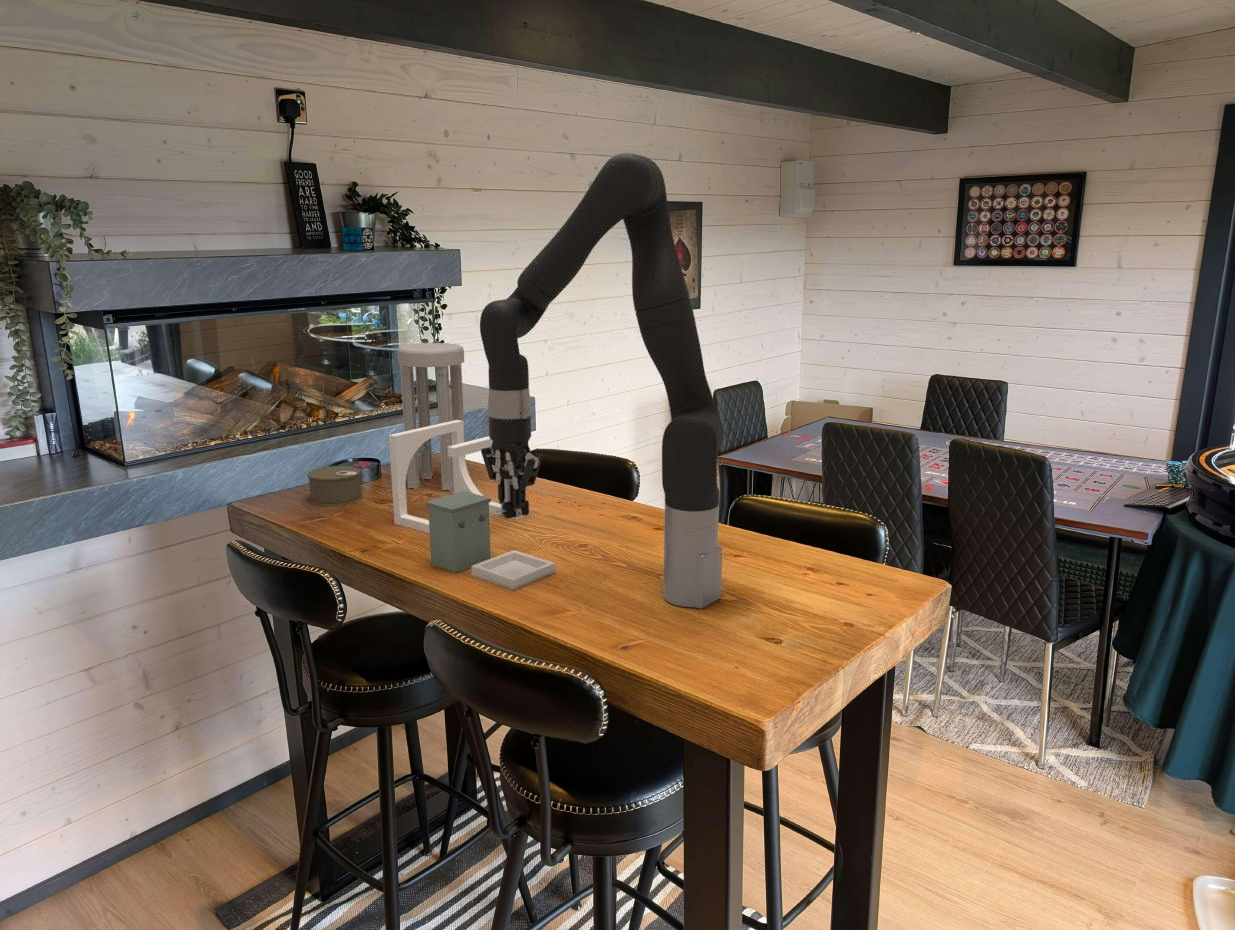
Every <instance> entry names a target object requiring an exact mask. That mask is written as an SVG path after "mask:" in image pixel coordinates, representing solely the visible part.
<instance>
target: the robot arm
mask: <svg viewBox="0 0 1235 930" xmlns="http://www.w3.org/2000/svg"><path fill="white" fill-rule="evenodd" d="M670 218H671V217H670V212H669V205H668V199H667V190H666V183H665V178H664V175H663V173H662V170H661V169H660V166H658V165H657V163H656V162H655V161H653V160H652V159H651V158H649V157H647V156H645V155H640V154H635V153H632V152H631V153H630V152H623V153H618V154H616V155H613V156H612V157H611V158H609V159H608V160H607V161H606V162H605V163H604V165H603V166H602V167H601V168H600V170H599V172H598V173H597V175H596V177H595V178H594V180H593V181H592V183H591V184H590V186H589V188H588V189H587V191H586V192H585V194H584V196H583V197H582V199H581V200H580V202H579V203H578V204H577V206H576V207H575V209H574V210H573V212H572V213H571V215H569V217H568V218H567V220H566V221H565V223H564V224H563V225H562V226H561V228H559V230H558V231H557V232H556V233H555V235H554V236H553V237H552V238H551V239H550V241H549V242H548V243H547V244H546V245H545V246H544V247H543V248H542V249H541V250H540V251H539V252H538V254H536V256H535V257H534V258H533V259H532V260H531V262H529V263H528V265H527V266H526V267H525V268H524V270H523V271H522V272H521V273H520V275H519V276H518V279H517V287H516V288H515V289H514V291H513V292H512V293H511V294H510V295H509V296H508V297H507V298H505V299H497V300H493V301H491V302H488V304H486V306H484V307H483V309H482V312H481V314H480V319H479V333H480V338H481V342H482V346H483V350H484V355H485V357H486V361H487V364H488V397H487V407H488V409H487V410H488V411H487V412H488V436H489V437H490V439H491V440H493V442H492V445H491V447H487V448H483V449H481V451H480V453H481V456H482V459H483V462H484V464H485V468H486V472H487V475H488V477H489V480H494V482H495V484H496V485H497V495H498V497H497V498H498V503H499V504H502V503H503V502H505V501H504V499H505V483H504V479H503V478H502V477H500V474H501V472H499V470H500V469H503V470H504V466H505V464H506V465H508V468H509V474H510V476H511V477H512V480H513V486H514V489H513V507H514V508H517V509H519V508H522V507H524V505H525V503H526V501H527V499H526V496H527V494H526V492H527V491H526V489H527V487H531V486H534V485H535V482H536V480H537V476H538V474H539V471H540V469H541V468H540V467H541V465H542V463H543V462H542V457H541V456H534V455H533V454H532V453H531V448H530V446H529V441H530V439H531V438H532V413H531V412H532V409H531V406H532V404H531V394H530V383H529V382H530V379H529V378H530V377H529V375H530V373H529V364H528V363H529V361H528V359H527V358H526V356H524V355H523V354H521V353H520V348H519V347H520V346H519V342H518V339H520V338H523V337H525V336H526V335H528V333H530V332H531V331H532V330H533V328H534V327H535V326H536V325H537V324H538V323H539V321H540V320H541V318H542V317H543V315H544V313H546V311H547V309H548V307H549V305H550V304H551V303H552V302H553V301H554V300H555V299H556V298H557V297H558V296H559V295H560V294H561V293H562V292H563V290H564V289H565V288H567V286H568V285H569V284H570V283H571V282H572V281H573V280H574V278H575V277H576V276H577V274H578V273H579V272H580V270H581V269H582V267H583V265H584V264H585V263H586V261H587V259H588V258H589V256H590V254H591V253H592V251H593V249H594V248H595V247H596V245H597V244H598V243H599V242H600V241H601V239H602V238H603V237H604V236H605V235H606V234H607V233H608V232H609V231H610V230H611V229H613V227H615V226H616V225H617V224H619V223H620V222H621V221H622V220H623V224H624V225H625V227H624V228H625V230H626V233H627V236H628V240H629V243H630V245H629V246H630V250H631V258H632V259H631V261H632V263H631V264H632V269H631V270H632V271H631V273H632V274H631V291H632V302H633V307H634V311H635V316H636V321H637V324H638V328H639V332H640V335H641V338H642V341H643V344H644V346H645V348H646V351H647V353H648V355H649V357H650V359H651V361H652V362H653V365H654V366H655V368H656V370H657V372H658V373H659V376H660V377H661V379H662V382H663V385H664V387H665V388H664V389H665V392H666V396H667V400H668V405H669V413H670V421H669V423H668V424H667V426H665V428H664V431H663V435H662V443H661V482H662V483H661V484H662V490H663V493H664V528H663V529H664V531H663V532H664V537H663V538H664V539H663V585H662V586H663V590H662V591H663V594H662V596H663V599H664V601H666V602H668V603H670V604H671V605H674V606H676V607H677V606H678V607H685V608H696V609H697V608H698V609H704V608H706V607H707V606H709V605H711V604H713V603H714V602H715V603H716V602H717V601H719V599H721V597H722V596H721V595H722V574H723V573H722V572H723V571H722V570H723V569H722V568H723V546H720V545H719V544H718V543H719V540H718V539H719V519H720V517H719V513H720V512H719V511H720V489H719V487H718V453H719V451H720V449H721V448H722V445H723V442H724V439H725V431H724V426H723V422H722V420H721V417H720V413H719V410H718V409H717V406H716V403H715V400H714V398H713V394H712V391H711V389H710V386H709V382H708V379H707V376H706V375H707V374H706V372H705V366H704V365H705V364H704V360H703V353H702V348H701V343H700V337H699V334H698V328H697V323H696V318H695V314H694V310H693V305H692V302H691V298H690V293H689V290H688V287H687V284H686V280H685V279H686V278H685V276H684V271H683V268H682V263H681V260H680V258H679V254H678V251H677V248H676V245H675V241H674V238H673V237H674V236H673V232H672V227H671V226H672V225H671V220H670ZM519 468H522V469H521V470H522V471H523V470H524V472H523V473H520V471H518V472H517V471H516V469H519ZM519 475H523V476H522V479H521V481H519Z"/></svg>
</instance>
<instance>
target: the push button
mask: <svg viewBox="0 0 1235 930" xmlns="http://www.w3.org/2000/svg"><path fill="white" fill-rule="evenodd" d="M521 469H522V468H519V469H516V471H517V472H518V471H520V473H523V472H524V470H523V471H522V470H521ZM499 472H501V474H500V477H502V478H503V479H504V483H505V499H504V501H505V502H503V503H502V504H501V510H499V511H500V512H502V514H501V515H495V517H496V518H501V517H503V518H505V519H507V520H508V519H512V518H513V517H519V516H522V515H524V516H528V515H529V514H530V506H529V505H530V502H529V500H526V503H525V505H524V507H522V508H519V509H517V508H514V507H513V489H514V486H513V480H512V477H511V476H510V474H509V468H508V465H506V464H505V466H504V470H503V469H500V470H499ZM522 476H523V475H519V481H521V479H522ZM495 512H497V513H499V512H498V511H495Z"/></svg>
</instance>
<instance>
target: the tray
mask: <svg viewBox="0 0 1235 930" xmlns="http://www.w3.org/2000/svg"><path fill="white" fill-rule="evenodd" d="M556 566H557V565H556V562H554V561H550V560H547V559H544V558H540V557H537V556H535V555H531V554H528V553H525V552H521V551H518V550H515V549H514V550H511V551H508V552H506V553H503V554H500V555H498V556H494V557H491V559H489V560H486V561H483V562H481V563H478V564H475V565H473V566H472V567H471V577H473V578H477V579H480V580H482V581H484V582H488V583H491V584H494V585H496V586H500V587H502V588H505V589H507V590H509V591H510V590H511V591H516V590H518V589H521V588H524V587H526V586H528V585H532V584H534V583H535V582H537V581H539V580H542V579H544V578H547V577H549V576H552V575H554V574H556V573H557V572H556V568H557V567H556Z"/></svg>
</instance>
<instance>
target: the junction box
mask: <svg viewBox="0 0 1235 930" xmlns="http://www.w3.org/2000/svg"><path fill="white" fill-rule="evenodd" d="M491 501H492V498H491V497H489V496H485V495H483V496H481V495H478V494H474V493H470V492H466V491H462V492H459V493H455V494H454V493H451V494H449V495H445V496H442V497H438V498H435V499H431V500H427V501H425V507H427V508H428V509H427V510H428V520H429V532H430V534H429V547H430V564H432V565H431V566H434V565H435V567H437V568H440V569H443V570H445V571H448V572H451V573H454V574H457V573H459V572H461V571H465V570H467V569H470V568H472V566H473V565H475V564H478V563H481V562H483V561H486V560H489V559H492V555H491V552H492V551H491V527H490V513H489V503H490V502H491Z"/></svg>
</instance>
